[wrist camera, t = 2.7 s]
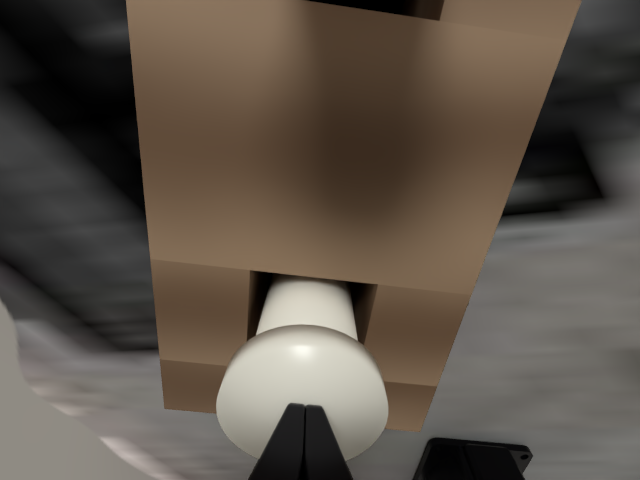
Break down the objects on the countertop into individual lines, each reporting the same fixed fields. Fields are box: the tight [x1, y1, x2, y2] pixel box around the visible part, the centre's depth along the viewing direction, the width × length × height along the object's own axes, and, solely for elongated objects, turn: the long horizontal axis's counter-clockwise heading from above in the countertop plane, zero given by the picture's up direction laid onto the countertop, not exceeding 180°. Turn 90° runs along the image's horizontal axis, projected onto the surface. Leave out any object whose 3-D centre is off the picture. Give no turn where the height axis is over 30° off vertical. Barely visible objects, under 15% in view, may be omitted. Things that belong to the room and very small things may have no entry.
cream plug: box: [216, 273, 388, 461], centre depth 11 cm, size 4×4×6 cm
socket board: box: [126, 0, 582, 432], centre depth 11 cm, size 20×10×5 cm, turn 173°
